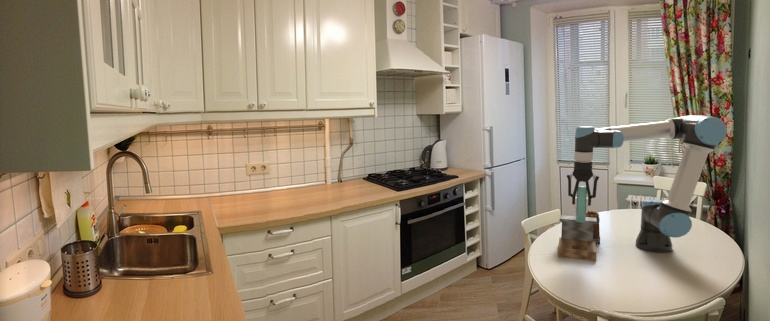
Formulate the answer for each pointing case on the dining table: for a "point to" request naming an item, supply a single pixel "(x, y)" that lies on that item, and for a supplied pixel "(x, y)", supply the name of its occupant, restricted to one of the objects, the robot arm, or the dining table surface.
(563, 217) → the socket block
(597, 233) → the mug
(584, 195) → the peg
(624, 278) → the dining table surface
